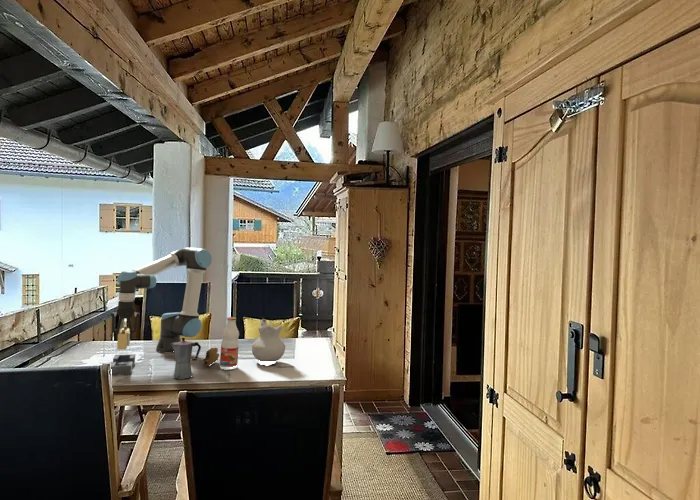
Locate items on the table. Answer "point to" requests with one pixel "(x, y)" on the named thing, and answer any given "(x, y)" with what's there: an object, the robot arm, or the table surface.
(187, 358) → the moka pot
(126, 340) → the yellow block with knob
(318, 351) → the table surface
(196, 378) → the table surface
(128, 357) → the end link
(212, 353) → the wooden carving
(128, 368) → the end link
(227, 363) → the fruit juice
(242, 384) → the table surface
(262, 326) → the ceramic pitcher
